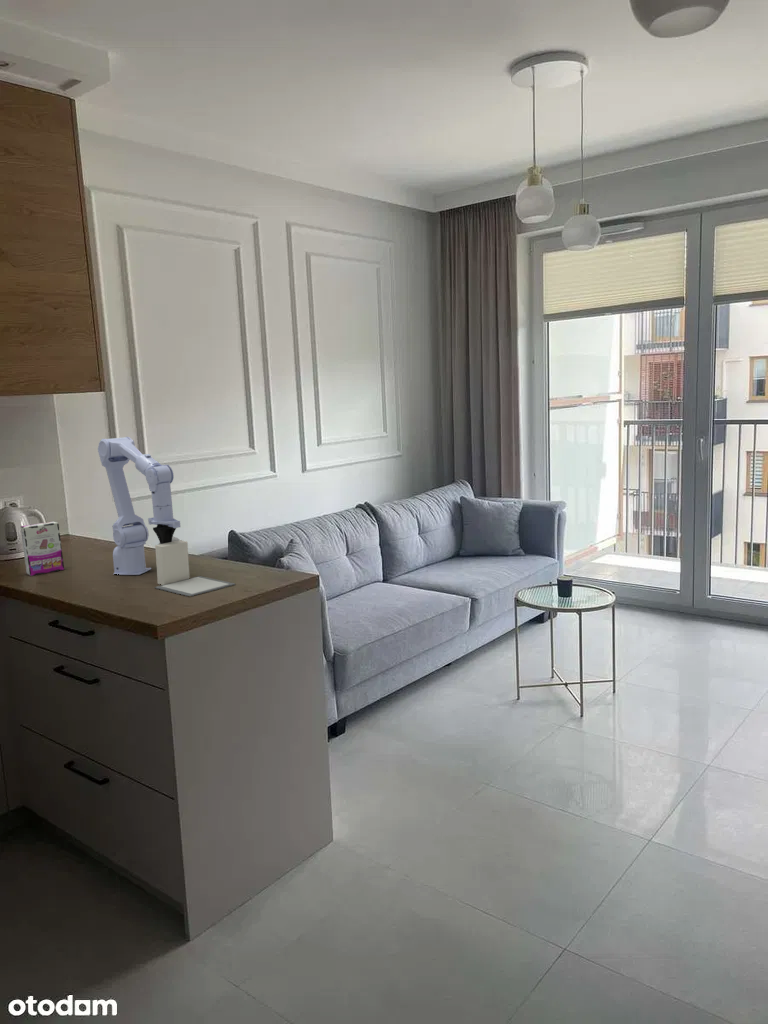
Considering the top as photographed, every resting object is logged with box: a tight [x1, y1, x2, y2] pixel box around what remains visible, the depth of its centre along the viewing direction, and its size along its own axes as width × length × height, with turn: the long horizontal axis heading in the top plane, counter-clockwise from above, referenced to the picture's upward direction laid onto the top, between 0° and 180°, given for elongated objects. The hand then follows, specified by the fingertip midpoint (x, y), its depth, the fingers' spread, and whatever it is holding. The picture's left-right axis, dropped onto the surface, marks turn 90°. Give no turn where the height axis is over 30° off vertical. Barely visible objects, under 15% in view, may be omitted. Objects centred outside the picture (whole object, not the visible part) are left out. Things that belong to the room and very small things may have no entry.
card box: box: [154, 539, 191, 586], centre depth 232 cm, size 4×9×12 cm, turn 138°
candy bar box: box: [20, 521, 65, 577], centre depth 254 cm, size 11×5×16 cm, turn 130°
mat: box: [154, 575, 236, 597], centre depth 226 cm, size 18×16×1 cm
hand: (166, 549), depth 233 cm, fingers closed
